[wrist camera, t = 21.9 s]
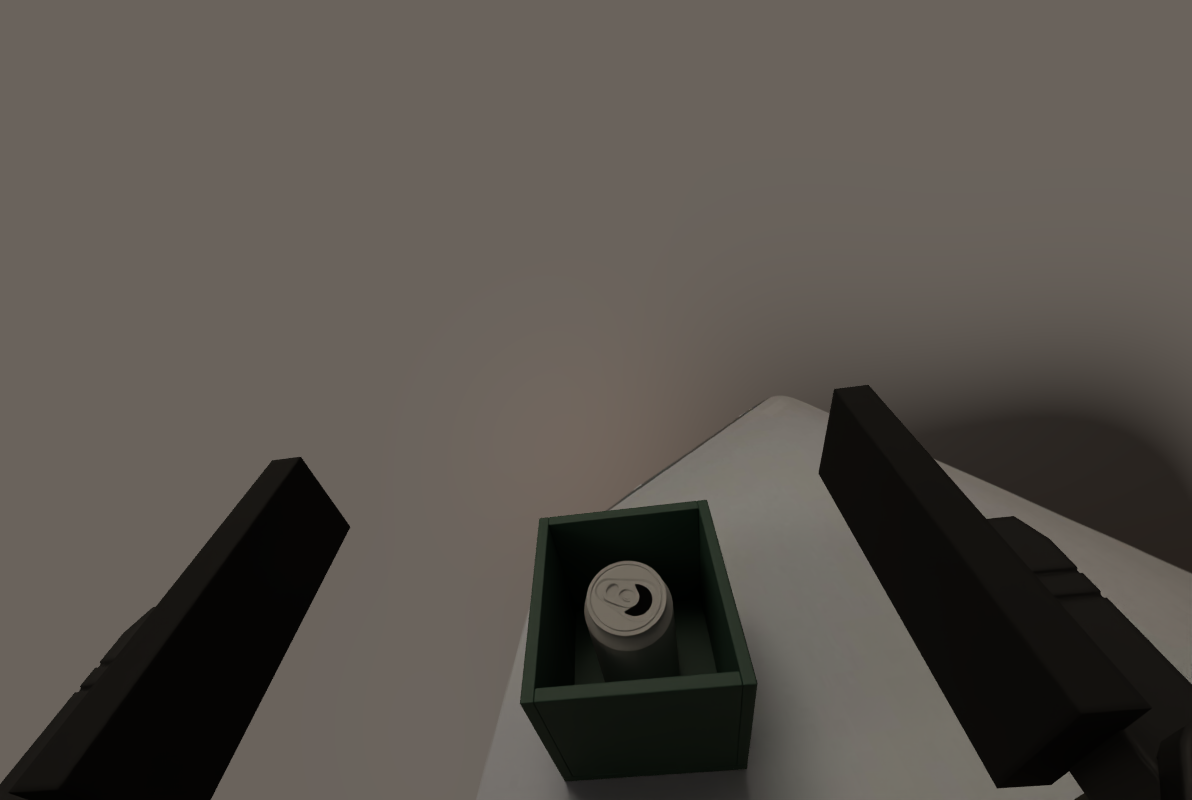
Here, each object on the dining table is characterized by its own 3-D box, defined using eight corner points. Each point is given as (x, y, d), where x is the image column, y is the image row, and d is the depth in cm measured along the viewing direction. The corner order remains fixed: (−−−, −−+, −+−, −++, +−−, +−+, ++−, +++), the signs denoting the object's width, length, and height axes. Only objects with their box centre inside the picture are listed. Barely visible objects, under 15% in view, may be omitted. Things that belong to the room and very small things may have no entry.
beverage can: (667, 730, 36) (655, 655, 29) (592, 697, 38) (565, 621, 32) (688, 650, 40) (683, 569, 33) (620, 626, 43) (602, 545, 36)
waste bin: (564, 781, 35) (519, 703, 27) (569, 610, 46) (539, 518, 38) (747, 769, 34) (757, 684, 26) (708, 596, 45) (706, 499, 37)
